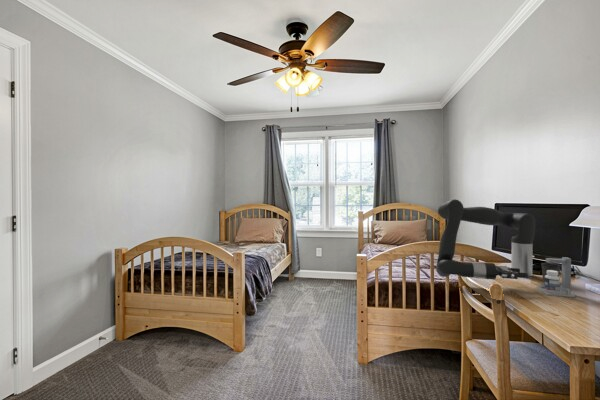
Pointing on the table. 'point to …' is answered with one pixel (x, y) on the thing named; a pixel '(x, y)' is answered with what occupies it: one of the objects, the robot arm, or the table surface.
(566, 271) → the stand
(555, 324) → the table surface
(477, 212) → the robot arm
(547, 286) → the pill bottle
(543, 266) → the coffee cup
